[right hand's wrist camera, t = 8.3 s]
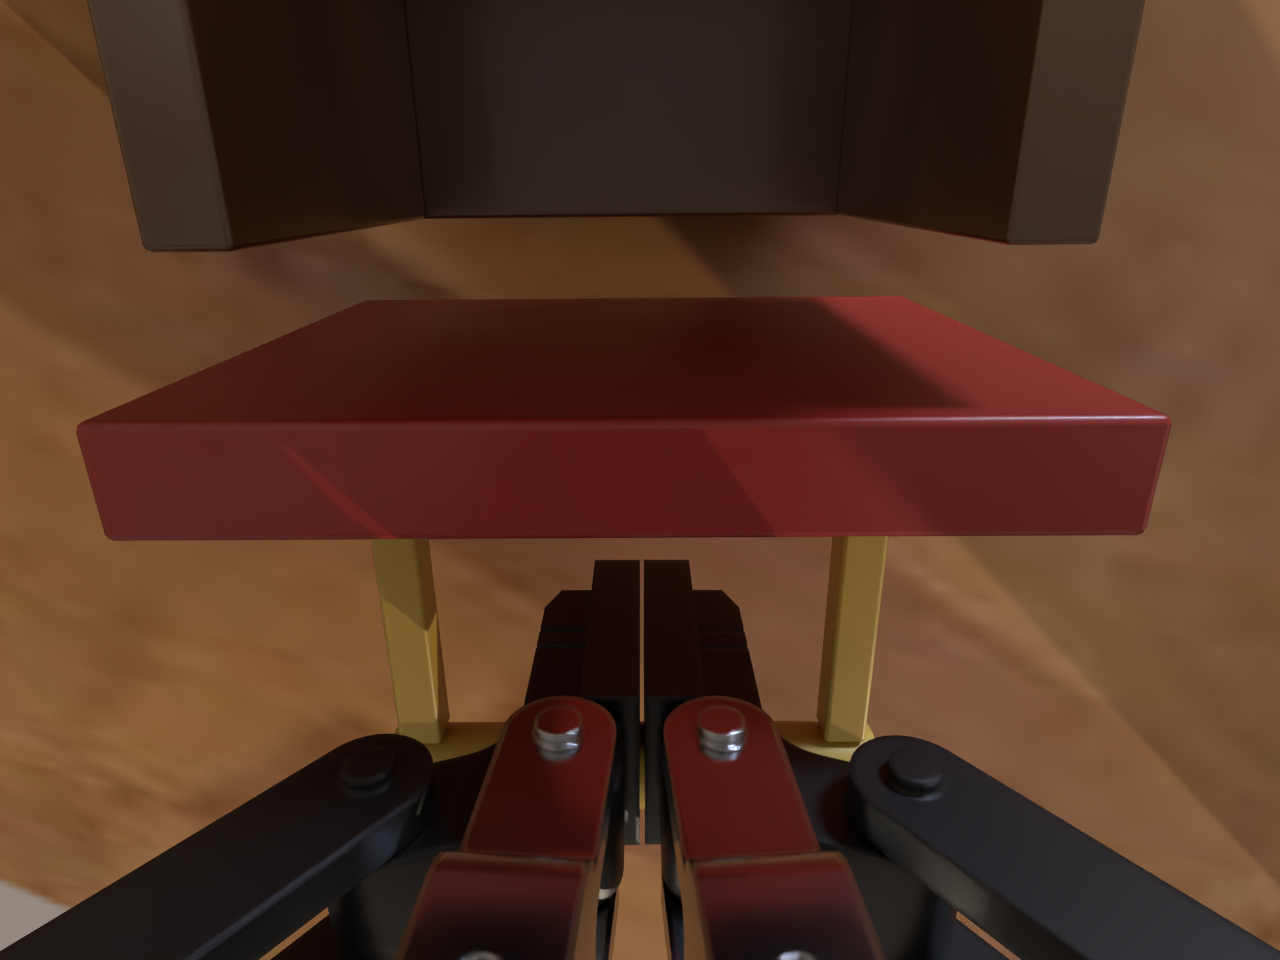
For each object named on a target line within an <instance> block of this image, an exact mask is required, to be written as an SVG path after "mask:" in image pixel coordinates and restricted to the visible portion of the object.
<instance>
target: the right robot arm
mask: <svg viewBox="0 0 1280 960" xmlns="http://www.w3.org/2000/svg"><path fill="white" fill-rule="evenodd" d="M644 760H645V844H661V866H662V876H661V904H662V913H663V922H664V931H665V939H666V948H667V957H668V960H1009V959H1008V958H1007V957H1005V956H1004V955H1003V954H1001V953H1000V952H999V951H998V950H996V949H995V948H994V947H992V946H991V945H990V944H988V943H987V942H986V941H985V940H983V939H982V938H981V937H979V936H978V935H977V934H976V933H974V932H973V931H972V930H970V929H969V928H968V927H967V926H965V925H964V924H963V923H961V922H960V921H959V920H957V919H956V914H957V911H958V912H960V913H961V914H962V915H964V916H965V917H966V918H968V919H969V920H970V921H972V922H973V923H974V924H976V925H977V926H978V927H979V928H981V929H982V930H983V931H985V932H986V933H987V934H989V935H990V936H991V937H993V938H994V939H995V940H996V941H998V942H999V943H1000V944H1002V945H1003V946H1004V947H1006V948H1007V949H1008V950H1010V951H1011V952H1012V953H1013V954H1015V955H1016V956H1017V957H1019V958H1020V959H1021V960H1280V951H1279V950H1277V949H1275V948H1274V947H1272V946H1270V945H1269V944H1267V943H1265V942H1264V941H1262V940H1260V939H1259V938H1257V937H1255V936H1254V935H1252V934H1250V933H1249V932H1247V931H1245V930H1244V929H1242V928H1241V927H1239V926H1237V925H1236V924H1234V923H1232V922H1231V921H1229V920H1227V919H1226V918H1224V917H1222V916H1221V915H1219V914H1217V913H1216V912H1214V911H1212V910H1211V909H1209V908H1207V907H1206V906H1204V905H1202V904H1201V903H1199V902H1198V901H1196V900H1194V899H1193V898H1191V897H1189V896H1188V895H1186V894H1184V893H1183V892H1181V891H1179V890H1178V889H1176V888H1174V887H1173V886H1171V885H1169V884H1168V883H1166V882H1164V881H1163V880H1161V879H1160V878H1158V877H1156V876H1155V875H1153V874H1151V873H1150V872H1148V871H1146V870H1145V869H1143V868H1141V867H1140V866H1138V865H1136V864H1135V863H1133V862H1131V861H1130V860H1128V859H1126V858H1125V857H1123V856H1121V855H1120V854H1118V853H1117V852H1115V851H1113V850H1112V849H1110V848H1108V847H1107V846H1105V845H1103V844H1102V843H1100V842H1098V841H1097V840H1095V839H1093V838H1092V837H1090V836H1088V835H1087V834H1085V833H1083V832H1082V831H1080V830H1079V829H1077V828H1075V827H1074V826H1072V825H1070V824H1069V823H1067V822H1065V821H1064V820H1062V819H1060V818H1059V817H1057V816H1055V815H1054V814H1052V813H1050V812H1049V811H1047V810H1045V809H1044V808H1042V807H1040V806H1039V805H1037V804H1036V803H1034V802H1032V801H1031V800H1029V799H1027V798H1026V797H1024V796H1022V795H1021V794H1019V793H1017V792H1016V791H1014V790H1012V789H1011V788H1009V787H1007V786H1006V785H1004V784H1002V783H1001V782H999V781H997V780H996V779H994V778H993V777H991V776H989V775H988V774H986V773H984V772H983V771H981V770H979V769H978V768H976V767H974V766H973V765H971V764H969V763H968V762H966V761H964V760H963V759H961V758H959V757H958V756H956V755H955V754H953V753H951V752H950V751H948V750H946V749H944V748H942V747H940V746H938V745H936V744H933V743H931V742H929V741H925V740H922V739H919V738H914V737H908V736H898V735H895V736H882V737H877V738H874V739H871V740H868V741H867V742H865V743H863V744H861V745H860V746H859V747H858V748H857V749H856V750H855V752H854V753H853V754H852V757H851V760H850V762H848V761H844V760H840V759H836V758H831V757H827V756H823V755H819V754H816V753H812V752H809V751H806V750H804V749H801V748H799V747H797V746H795V745H793V744H791V743H789V742H788V741H786V740H785V739H784V738H782V737H781V736H780V734H779V731H778V728H777V726H776V724H775V722H774V721H773V720H772V719H771V717H770V716H769V715H768V714H767V713H766V712H764V711H763V710H762V707H761V703H760V699H759V694H758V690H757V685H756V681H755V676H754V672H753V668H752V663H751V659H750V654H749V650H748V648H747V641H746V637H745V632H744V631H743V623H742V619H741V614H740V610H739V607H738V606H737V605H736V604H735V603H734V602H733V601H732V600H731V599H730V598H729V597H728V596H727V595H726V594H725V593H724V592H723V591H722V590H692V582H691V574H690V566H689V560H644ZM624 845H640V560H595V566H594V574H593V583H592V590H562V591H561V592H560V593H559V594H558V595H557V596H556V597H555V598H554V599H553V600H552V601H551V602H550V603H549V604H548V605H547V606H546V607H545V610H544V615H543V620H542V624H541V632H540V633H539V638H538V643H537V648H536V652H535V657H534V661H533V666H532V670H531V675H530V680H529V684H528V689H527V694H526V698H525V703H524V706H523V707H521V708H520V709H518V710H517V711H515V712H514V713H513V714H512V715H511V716H510V717H509V718H508V720H507V721H506V722H505V724H504V726H503V728H502V731H501V734H500V736H499V739H498V742H496V743H494V744H493V745H491V746H489V747H487V748H485V749H482V750H480V751H477V752H474V753H471V754H467V755H464V756H460V757H455V758H451V759H447V760H443V761H438V762H434V763H433V759H432V756H431V753H430V752H429V750H428V749H427V747H426V746H425V745H423V744H422V743H421V742H419V741H418V740H416V739H414V738H411V737H408V736H405V735H399V734H376V735H371V736H365V737H362V738H358V739H355V740H352V741H350V742H348V743H345V744H343V745H341V746H339V747H337V748H336V749H334V750H332V751H330V752H329V753H327V754H326V755H324V756H322V757H321V758H319V759H317V760H316V761H314V762H312V763H311V764H309V765H307V766H306V767H304V768H302V769H301V770H299V771H297V772H296V773H294V774H292V775H291V776H289V777H287V778H286V779H284V780H283V781H281V782H279V783H278V784H276V785H274V786H273V787H271V788H269V789H268V790H266V791H264V792H263V793H261V794H259V795H258V796H256V797H254V798H253V799H251V800H249V801H248V802H246V803H245V804H243V805H241V806H240V807H238V808H236V809H235V810H233V811H231V812H230V813H228V814H226V815H225V816H223V817H221V818H220V819H218V820H216V821H215V822H213V823H211V824H210V825H208V826H206V827H205V828H203V829H202V830H200V831H198V832H197V833H195V834H193V835H192V836H190V837H188V838H187V839H185V840H183V841H182V842H180V843H178V844H177V845H175V846H173V847H172V848H170V849H168V850H167V851H165V852H163V853H162V854H160V855H159V856H157V857H155V858H154V859H152V860H150V861H149V862H147V863H145V864H144V865H142V866H140V867H139V868H137V869H135V870H134V871H132V872H130V873H129V874H127V875H125V876H124V877H122V878H121V879H119V880H117V881H116V882H114V883H112V884H111V885H109V886H107V887H106V888H104V889H102V890H101V891H99V892H97V893H96V894H94V895H92V896H91V897H89V898H87V899H86V900H84V901H82V902H81V903H79V904H78V905H76V906H74V907H73V908H71V909H69V910H68V911H66V912H64V913H63V914H61V915H59V916H58V917H56V918H54V919H53V920H51V921H49V922H48V923H46V924H44V925H43V926H41V927H40V928H38V929H36V930H35V931H33V932H31V933H30V934H28V935H26V936H25V937H23V938H21V939H20V940H18V941H16V942H15V943H13V944H11V945H10V946H8V947H7V948H5V949H3V950H2V951H0V960H259V959H260V958H261V957H263V956H264V955H265V954H267V953H268V952H269V951H270V950H272V949H273V948H274V947H276V946H277V945H278V944H280V943H281V942H282V941H284V940H285V939H286V938H287V937H289V936H290V935H291V934H293V933H294V932H295V931H297V930H298V929H299V928H301V927H302V926H303V925H305V924H306V923H307V922H308V921H310V920H311V919H312V918H314V917H315V916H316V915H318V914H319V913H320V912H322V911H323V910H324V909H325V908H327V907H328V911H329V915H328V916H326V917H325V918H324V919H323V920H321V921H320V922H319V923H317V924H316V925H315V926H314V927H312V928H311V929H310V930H308V931H307V932H306V933H304V934H303V935H302V936H301V937H299V938H298V939H297V940H295V941H294V942H293V943H292V944H290V945H289V946H288V947H286V948H285V949H284V950H282V951H281V952H280V953H279V954H277V955H276V956H275V957H273V958H272V959H271V960H612V957H613V948H614V939H615V931H616V922H617V913H618V904H619V884H620V882H621V879H622V876H623V870H624Z"/></svg>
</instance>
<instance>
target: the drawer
mask: <svg viewBox="0 0 1280 960" xmlns="http://www.w3.org/2000/svg"><path fill="white" fill-rule="evenodd" d="M87 3H88V7H89V12H90V16H91V20H92V25H93V29H94V33H95V38H96V42H97V47H98V51H99V55H100V60H101V64H102V68H103V73H104V77H105V81H106V86H107V90H108V95H109V99H110V103H111V108H112V112H113V116H114V121H115V125H116V129H117V134H118V138H119V142H120V147H121V151H122V156H123V160H124V164H125V169H126V173H127V177H128V182H129V186H130V190H131V195H132V199H133V204H134V208H135V212H136V217H137V221H138V225H139V230H140V234H141V238H142V243H143V245H144V247H145V249H147V250H149V251H152V252H223V251H235V250H241V249H247V248H253V247H259V246H265V245H271V244H277V243H283V242H288V241H294V240H300V239H306V238H312V237H318V236H324V235H330V234H336V233H342V232H347V231H353V230H359V229H365V228H371V227H377V226H383V225H389V224H395V223H401V222H407V221H412V220H418V219H442V218H552V217H662V216H771V215H842V216H847V217H853V218H859V219H864V220H870V221H876V222H882V223H887V224H893V225H899V226H905V227H910V228H916V229H922V230H927V231H933V232H939V233H945V234H950V235H956V236H962V237H967V238H973V239H979V240H985V241H990V242H996V243H1002V244H1007V245H1041V244H1092V243H1095V242H1097V240H1098V239H1099V234H1100V229H1101V224H1102V219H1103V214H1104V208H1105V203H1106V198H1107V193H1108V188H1109V183H1110V178H1111V173H1112V167H1113V162H1114V157H1115V152H1116V147H1117V142H1118V137H1119V131H1120V126H1121V121H1122V116H1123V111H1124V106H1125V101H1126V95H1127V90H1128V85H1129V80H1130V75H1131V70H1132V65H1133V60H1134V54H1135V49H1136V44H1137V39H1138V34H1139V29H1140V24H1141V18H1142V13H1143V8H1144V3H1145V0H87ZM1170 429H1171V420H1170V418H1169V416H1167V415H1165V414H1163V413H1161V412H1158V411H1156V410H1154V409H1152V408H1149V407H1147V406H1145V405H1143V404H1141V403H1138V402H1136V401H1134V400H1132V399H1129V398H1127V397H1125V396H1123V395H1121V394H1118V393H1116V392H1114V391H1112V390H1109V389H1107V388H1105V387H1103V386H1100V385H1098V384H1096V383H1094V382H1092V381H1089V380H1087V379H1085V378H1083V377H1080V376H1078V375H1076V374H1074V373H1072V372H1069V371H1067V370H1065V369H1063V368H1060V367H1058V366H1056V365H1054V364H1051V363H1049V362H1047V361H1045V360H1043V359H1040V358H1038V357H1036V356H1034V355H1031V354H1029V353H1027V352H1025V351H1022V350H1020V349H1018V348H1016V347H1014V346H1011V345H1009V344H1007V343H1005V342H1002V341H1000V340H998V339H996V338H994V337H991V336H989V335H987V334H985V333H982V332H980V331H978V330H976V329H973V328H971V327H969V326H967V325H965V324H962V323H960V322H958V321H956V320H953V319H951V318H949V317H947V316H944V315H942V314H940V313H938V312H936V311H933V310H931V309H929V308H927V307H924V306H922V305H920V304H918V303H916V302H913V301H911V300H909V299H907V298H904V297H902V296H868V297H745V298H623V299H501V300H379V301H364V302H361V303H359V304H357V305H354V306H352V307H350V308H347V309H345V310H343V311H340V312H338V313H336V314H333V315H331V316H329V317H326V318H324V319H322V320H319V321H317V322H315V323H312V324H310V325H308V326H305V327H303V328H301V329H298V330H296V331H294V332H291V333H289V334H287V335H284V336H282V337H280V338H277V339H275V340H273V341H270V342H268V343H266V344H263V345H261V346H259V347H256V348H254V349H252V350H249V351H247V352H245V353H242V354H240V355H238V356H235V357H233V358H231V359H228V360H226V361H223V362H221V363H219V364H216V365H214V366H212V367H209V368H207V369H205V370H202V371H200V372H198V373H195V374H193V375H191V376H188V377H186V378H184V379H181V380H179V381H177V382H174V383H172V384H170V385H167V386H165V387H163V388H160V389H158V390H156V391H153V392H151V393H149V394H146V395H144V396H142V397H139V398H137V399H135V400H132V401H130V402H128V403H125V404H123V405H121V406H118V407H116V408H114V409H111V410H109V411H107V412H104V413H102V414H100V415H97V416H95V417H93V418H90V419H88V420H86V421H83V422H81V423H79V425H78V426H77V432H76V433H77V437H78V440H79V444H80V448H81V451H82V455H83V458H84V462H85V465H86V469H87V472H88V476H89V479H90V483H91V486H92V490H93V494H94V497H95V501H96V504H97V508H98V511H99V515H100V518H101V522H102V525H103V529H104V532H105V535H106V536H107V537H108V539H111V540H296V539H371V543H372V550H373V557H374V563H375V570H376V577H377V584H378V591H379V597H380V604H381V611H382V618H383V624H384V631H385V638H386V645H387V652H388V658H389V665H390V672H391V679H392V686H393V692H394V699H395V706H396V713H397V719H398V728H397V729H396V731H395V733H394V734H399V735H405V736H408V737H411V738H414V739H416V740H418V741H419V742H421V743H422V744H423V745H425V746H426V747H427V749H428V750H429V752H430V753H431V756H432V759H433V763H434V762H438V761H443V760H447V759H451V758H455V757H460V756H464V755H467V754H471V753H474V752H477V751H480V750H482V749H485V748H487V747H489V746H491V745H493V744H494V743H496V742H498V739H499V736H500V734H501V731H502V728H503V726H504V724H505V722H448V721H449V718H450V717H449V709H448V700H447V692H446V683H445V675H444V667H443V658H442V650H441V641H440V633H439V624H438V616H437V607H436V599H435V590H434V582H433V573H432V565H431V556H430V548H429V539H479V538H662V537H833V539H832V550H831V561H830V573H829V584H828V595H827V607H826V618H825V629H824V640H823V652H822V663H821V674H820V686H819V697H818V708H817V719H818V721H774V722H775V724H776V726H777V728H778V731H779V734H780V736H781V737H782V738H784V739H785V740H786V741H788V742H789V743H791V744H793V745H795V746H797V747H799V748H801V749H804V750H806V751H809V752H812V753H816V754H819V755H823V756H827V757H831V758H836V759H840V760H844V761H848V762H850V760H851V757H852V754H853V753H854V752H855V750H856V749H857V748H858V747H859V746H860V745H861V744H863V743H865V742H867V741H868V740H871V739H874V735H873V733H872V731H871V728H870V727H869V725H868V724H867V715H868V707H869V698H870V690H871V681H872V672H873V664H874V655H875V647H876V638H877V630H878V621H879V613H880V604H881V596H882V587H883V578H884V570H885V561H886V553H887V544H888V536H1028V535H1138V534H1141V533H1143V531H1144V530H1145V529H1146V526H1147V522H1148V518H1149V514H1150V509H1151V505H1152V501H1153V497H1154V493H1155V489H1156V485H1157V481H1158V477H1159V473H1160V469H1161V465H1162V461H1163V457H1164V453H1165V449H1166V445H1167V441H1168V437H1169V433H1170ZM640 810H645V760H644V722H640Z"/></svg>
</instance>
